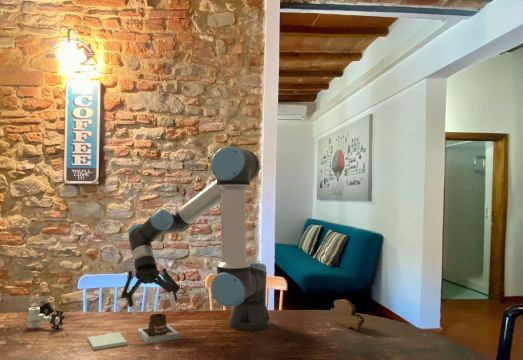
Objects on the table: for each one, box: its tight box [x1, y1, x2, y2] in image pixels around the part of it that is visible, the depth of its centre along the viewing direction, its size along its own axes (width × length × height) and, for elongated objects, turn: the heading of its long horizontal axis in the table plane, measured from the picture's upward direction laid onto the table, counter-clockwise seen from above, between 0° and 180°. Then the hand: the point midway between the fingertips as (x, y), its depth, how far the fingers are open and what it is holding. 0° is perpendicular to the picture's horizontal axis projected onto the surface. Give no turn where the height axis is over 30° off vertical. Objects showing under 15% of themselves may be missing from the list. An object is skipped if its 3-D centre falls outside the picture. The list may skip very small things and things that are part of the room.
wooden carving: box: [330, 298, 365, 331], centre depth 159 cm, size 16×5×10 cm, turn 34°
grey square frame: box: [136, 324, 180, 345], centre depth 143 cm, size 11×11×2 cm
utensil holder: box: [147, 298, 169, 337], centre depth 143 cm, size 6×6×12 cm
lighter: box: [38, 300, 55, 316], centre depth 161 cm, size 9×2×6 cm
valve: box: [26, 306, 66, 330], centre depth 150 cm, size 7×7×12 cm
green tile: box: [87, 331, 128, 351], centre depth 136 cm, size 10×10×1 cm
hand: (155, 312), depth 144 cm, fingers open, 13 cm apart
